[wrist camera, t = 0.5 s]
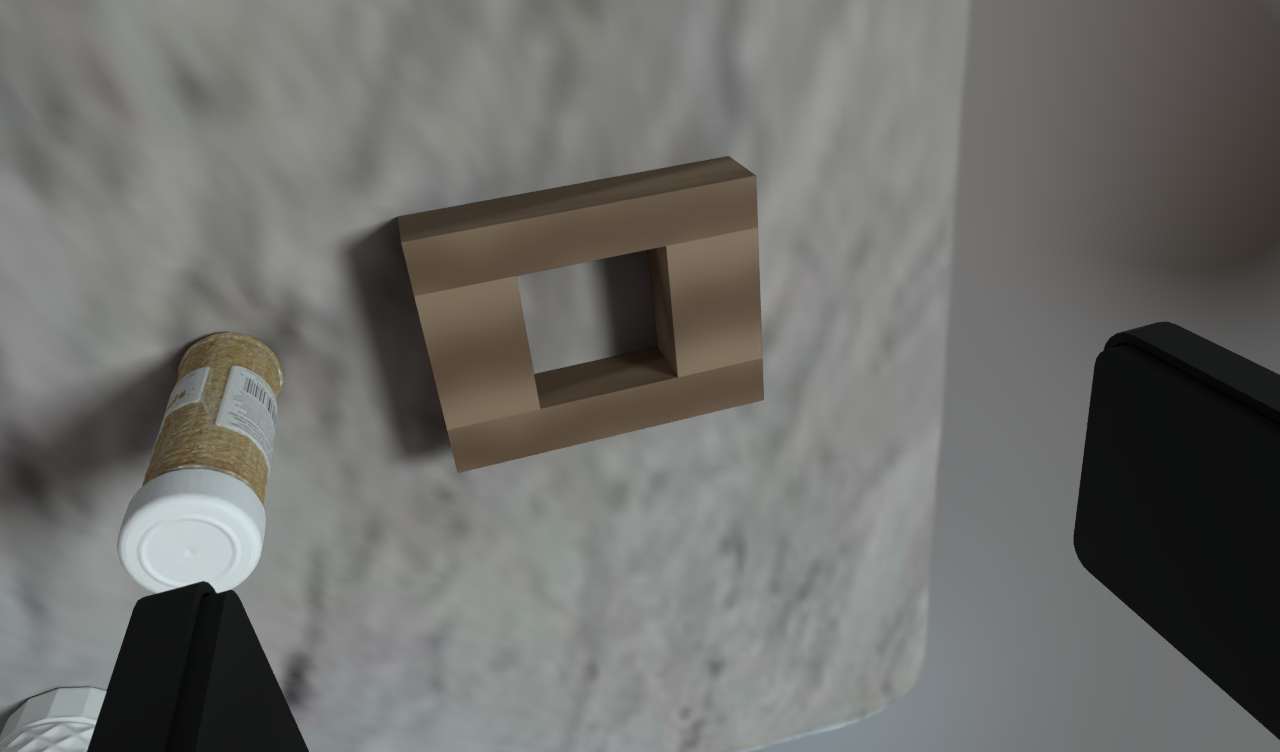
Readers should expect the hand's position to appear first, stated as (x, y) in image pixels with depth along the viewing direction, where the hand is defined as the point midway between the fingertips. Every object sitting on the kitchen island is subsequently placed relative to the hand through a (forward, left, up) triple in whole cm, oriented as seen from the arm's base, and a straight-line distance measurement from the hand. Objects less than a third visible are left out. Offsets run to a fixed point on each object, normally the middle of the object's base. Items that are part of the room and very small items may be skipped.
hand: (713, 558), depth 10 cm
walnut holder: (+13, +5, -34) cm, 36 cm away
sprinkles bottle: (+13, -12, -34) cm, 38 cm away
